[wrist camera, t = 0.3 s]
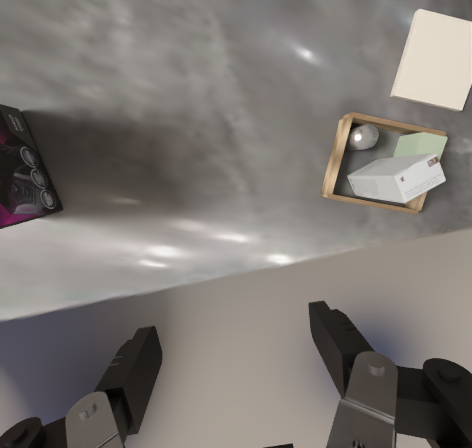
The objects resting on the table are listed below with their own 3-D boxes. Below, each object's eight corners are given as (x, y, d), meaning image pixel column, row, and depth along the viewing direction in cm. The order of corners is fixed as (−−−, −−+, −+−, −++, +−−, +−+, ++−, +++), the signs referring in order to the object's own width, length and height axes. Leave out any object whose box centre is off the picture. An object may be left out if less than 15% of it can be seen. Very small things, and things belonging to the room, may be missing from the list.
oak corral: (340, 115, 39) (350, 111, 37) (432, 135, 41) (448, 132, 38) (320, 195, 42) (326, 197, 39) (406, 211, 44) (419, 214, 41)
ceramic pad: (415, 12, 36) (419, 8, 36) (486, 30, 37) (492, 27, 37) (390, 96, 39) (393, 95, 38) (457, 111, 40) (461, 110, 39)
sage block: (399, 136, 41) (423, 132, 36) (421, 140, 41) (447, 137, 36) (392, 160, 41) (414, 159, 37) (413, 164, 42) (438, 164, 37)
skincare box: (355, 196, 43) (404, 207, 31) (345, 174, 42) (391, 176, 30) (387, 179, 42) (449, 183, 30) (377, 156, 41) (437, 151, 29)
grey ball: (346, 126, 40) (359, 121, 36) (366, 130, 40) (381, 126, 36) (340, 148, 41) (352, 146, 37) (360, 152, 41) (374, 151, 37)
